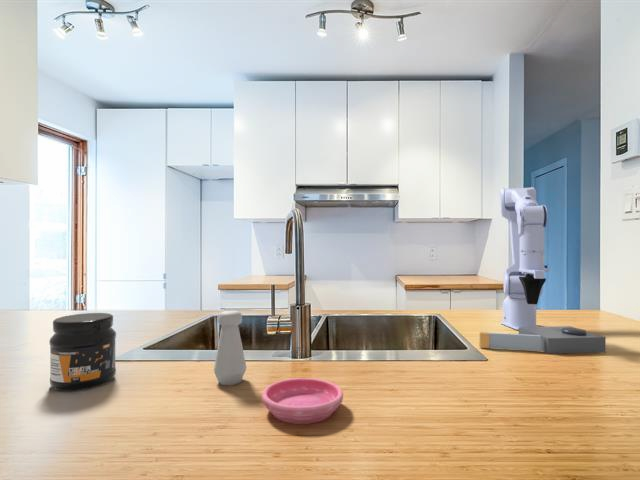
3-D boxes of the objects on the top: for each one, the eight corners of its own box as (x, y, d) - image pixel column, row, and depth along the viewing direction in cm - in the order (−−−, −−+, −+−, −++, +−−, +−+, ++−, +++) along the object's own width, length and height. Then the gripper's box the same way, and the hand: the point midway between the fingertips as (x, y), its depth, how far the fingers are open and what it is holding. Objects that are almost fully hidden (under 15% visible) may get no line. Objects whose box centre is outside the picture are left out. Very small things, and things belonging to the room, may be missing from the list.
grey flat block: (518, 340, 101) (518, 324, 101) (570, 339, 102) (570, 323, 102) (548, 353, 89) (548, 334, 89) (605, 352, 90) (605, 333, 90)
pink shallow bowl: (299, 389, 69) (299, 371, 69) (358, 408, 61) (358, 388, 61) (244, 413, 59) (244, 392, 59) (306, 440, 51) (306, 416, 51)
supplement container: (38, 396, 65) (38, 325, 65) (62, 375, 76) (62, 313, 76) (108, 389, 68) (108, 321, 68) (121, 370, 78) (121, 310, 78)
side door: (480, 347, 93) (480, 333, 93) (479, 346, 95) (479, 332, 95) (541, 351, 90) (541, 336, 90) (539, 350, 91) (539, 335, 91)
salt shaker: (242, 387, 69) (242, 314, 69) (210, 387, 69) (210, 314, 69) (249, 376, 75) (248, 308, 75) (219, 376, 75) (219, 308, 75)
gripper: (558, 252, 93) (558, 309, 93) (541, 251, 107) (541, 300, 107) (525, 252, 95) (525, 308, 95) (513, 251, 109) (513, 299, 109)
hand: (532, 303), depth 101 cm, fingers closed
